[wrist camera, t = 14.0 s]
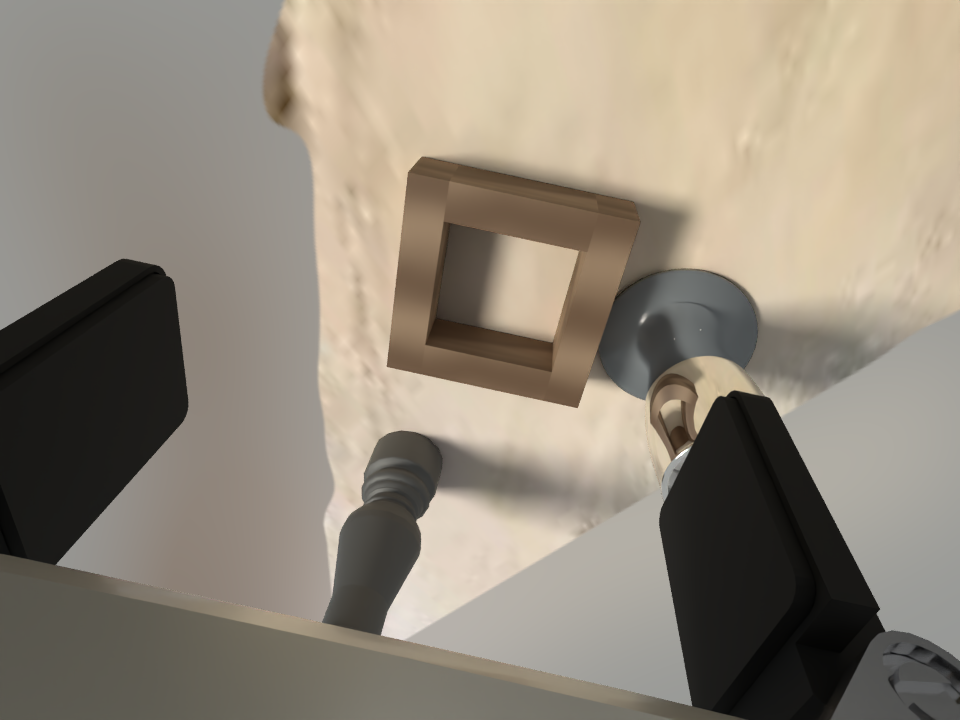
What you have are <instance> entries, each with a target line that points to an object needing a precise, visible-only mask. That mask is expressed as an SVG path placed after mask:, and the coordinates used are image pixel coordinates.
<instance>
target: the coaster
mask: <svg viewBox="0 0 960 720" xmlns="http://www.w3.org/2000/svg"><path fill="white" fill-rule="evenodd" d="M682 302H687V303H694V304H698V305H701V306H703V307H705V308H707V309H709V310H710V311H711V312H713V313H714V314H715V315H716V316H717V317H718V319H719V320H720V322H721V324H722V327H723V330H724V335H725V346H726V350H727V351H728V353H729V354H730V355H731V357H732V358H733V359H734V360H735V361H736V362H737V363H738V364H739V365H740V366H741V367H742V368H743V369H744V368H745V367H746V365H747V364H748V362H749V360H750V359H751V357H752V354H753V352H754V349H755V346H756V342H757V334H758V328H757V320H756V316H755V313H754V310H753V308H752V306H751V304H750V302H749V301H748V299H747V298H746V296H745V295H744V294H743V292H742V291H741V290H740V289H739V288H738V287H737V286H735V285H734V284H733V283H732V282H730V281H728V280H727V279H725V278H723V277H721V276H719V275H716V274H714V273H711V272H707V271H703V270H696V269H674V270H668V271H663V272H659V273H656V274H653V275H650V276H648V277H645V278H643V279H641V280H639V281H638V282H636V283H634V284H633V285H631V286H630V287H628V288H627V289H626V290H625V291H623V292H622V293H621V294H620V295H619V296H618V297H617V298H616V299H615V300H614V302H613V305H612V308H611V311H610V314H609V317H608V320H607V323H606V326H605V329H604V332H603V335H602V338H601V341H600V343H599V354H600V358H601V361H602V364H603V367H604V369H605V370H606V372H607V374H608V375H609V377H610V378H611V379H612V380H613V381H614V382H615V383H616V384H617V385H618V386H619V387H620V388H621V389H623V390H624V391H625V392H627V393H629V394H631V395H633V396H635V397H637V398H640V399H642V400H646V392H647V381H648V375H647V371H646V370H645V368H644V366H643V365H642V363H641V361H640V359H639V357H638V355H637V352H636V346H635V341H636V335H637V332H638V329H639V327H640V326H641V324H642V323H643V321H644V320H645V319H646V318H647V317H648V316H649V315H650V314H651V313H653V312H654V311H656V310H657V309H659V308H661V307H663V306H666V305H669V304H673V303H682Z"/></svg>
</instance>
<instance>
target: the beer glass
mask: <svg viewBox="0 0 960 720" xmlns="http://www.w3.org/2000/svg"><path fill="white" fill-rule="evenodd" d="M635 346H636V352H637V355H638V357H639V359H640V361H641V363H642V365H643V366H644V368H645V370H646V371H647V375H648V381H647V392H646V403H645V429H646V436H647V443H648V448H649V452H650V456H651V460H652V464H653V467H654V470H655V473H656V476H657V479H658V482H659V485H660V488H661V494H662V498H663V500H664V501H665V499H666V497H667V495H668V493H669V491H670V489H671V487H672V485H673V483H674V481H675V479H676V477H677V475H678V473H679V471H680V469H681V467H682V465H683V463H684V461H685V459H686V457H687V455H688V453H689V451H690V449H691V447H692V445H693V443H694V441H695V439H696V437H697V435H698V433H699V431H700V429H701V427H702V425H703V422H704V420H705V418H706V416H707V414H708V412H709V410H710V408H711V406H712V404H713V402H714V401H715V399H716V398H717V397H719V396H724V397H726V396H727V395H728V394H729V393H730V392H731V391H733V390H737V391H741V392H746V393H751V394H755V395H760V396H765V395H764V394H763V392H762V391H761V390H760V388H759V387H758V386H757V385H756V383H755V382H754V381H753V379H752V378H751V377H750V376H749V375H748V374H747V373H746V372H745V370H744V369H743V368H742V367H741V366H740V365H739V364H738V363H737V362H736V361H735V360H734V359H733V358H732V357H731V355H730V354H729V353H728V351H727V350H726V346H725V335H724V330H723V327H722V324H721V322H720V320H719V319H718V317H717V316H716V315H715V314H714V313H713V312H711V311H710V310H709V309H707V308H705V307H703V306H701V305H698V304H694V303H687V302H682V303H673V304H669V305H666V306H663V307H661V308H659V309H657V310H656V311H654V312H653V313H651V314H650V315H649V316H648V317H647V318H646V319H645V320H644V321H643V323H642V324H641V326H640V327H639V329H638V332H637V335H636V341H635Z"/></svg>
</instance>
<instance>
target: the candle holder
mask: <svg viewBox="0 0 960 720" xmlns="http://www.w3.org/2000/svg"><path fill="white" fill-rule="evenodd" d="M441 469H442V456H441V454H440V452H439V449H438V447H436V446H435V445H434V444H433V443H432V442H431V441H430V440H429V439H428V438H426V437H424V436H422V435H419V434H417V433H414V432H407V431H398V432H393V433H389V434H387V435H386V436H384V437H382V438H381V439H379V441H378V443H377V445H376V447H375V448H374V451H373V453H372V456H371V458H370V460H369V463H368V465H367V468H366V470H365V473H364V484H363V485H362V500H363V501H364V505H363V506H362V507H360V508H358V509H357V510H355V511H354V512H352V513H351V514H350V516H349V517H348V518H347V520H346V522H345V523H344V525H343V527H342V529H341V532H340V536H339V545H338V554H337V562H336V571H335V579H334V587H333V595H332V598H331V600H330V603H329V606H328V609H327V611H326V613H325V616H324V619H323V621H322V623H326V624H330V625H335V626H339V627H344V628H349V629H353V630H358V631H362V632H367V633H371V634H376V635H380V636H381V632H382V629H383V625H384V622H385V618H386V615H387V611H388V609H389V608H390V606H391V604H392V602H393V600H394V599H395V597H396V595H397V593H398V592H399V590H400V588H401V586H402V585H403V583H404V581H405V579H406V578H407V576H408V574H409V572H410V571H411V569H412V567H413V565H414V564H415V562H416V560H417V559H418V557H419V554H420V550H421V533H420V530H419V527H418V525H417V523H416V520H417V519H418V518H420V517H422V516H423V515H424V513H425V512H426V510H427V509H428V507H429V503H430V501H431V500H432V498H433V497H434V495H435V493H436V489H437V485H438V481H439V477H440V473H441Z"/></svg>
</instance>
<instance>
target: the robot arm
mask: <svg viewBox="0 0 960 720" xmlns="http://www.w3.org/2000/svg"><path fill="white" fill-rule="evenodd" d="M187 411H188V395H187V386H186V378H185V369H184V361H183V352H182V344H181V335H180V326H179V318H178V310H177V301H176V292H175V286H174V282H173V280H172V279H171V278H170V277H168V276H166V274H165V272H164V270H163V269H162V268H161V267H160V266H157V265H152V264H148V263H143V262H138V261H134V260H129V259H121V260H118V261H116V262H114V263H113V264H111V265H109V266H108V267H106V268H104V269H103V270H101V271H99V272H98V273H96V274H94V275H93V276H91V277H89V278H88V279H86V280H85V281H83V282H81V283H79V284H78V285H76V286H74V287H72V288H71V289H69V290H67V291H66V292H64V293H62V294H61V295H59V296H57V297H56V298H54V299H52V300H51V301H49V302H47V303H46V304H44V305H42V306H40V307H39V308H37V309H36V310H34V311H32V312H30V313H29V314H27V315H25V316H24V317H22V318H20V319H19V320H17V321H15V322H14V323H12V324H10V325H8V326H7V327H5V328H3V329H2V330H0V720H960V661H959V660H958V659H956V658H955V657H954V656H953V655H951V654H950V653H949V652H947V651H945V650H944V649H942V648H940V647H939V646H937V645H935V644H934V643H932V642H930V641H928V640H925V639H923V638H921V637H918V636H916V635H913V634H911V633H906V632H899V631H888V632H885V630H884V628H883V626H882V624H881V622H880V620H879V618H878V616H877V614H876V613H877V612H878V611H879V610H880V608H879V606H878V604H877V602H876V600H875V598H874V597H873V595H872V593H871V591H870V589H869V587H868V585H867V583H866V581H865V579H864V577H863V575H862V573H861V571H860V570H859V568H858V566H857V564H856V562H855V560H854V558H853V556H852V554H851V552H850V550H849V548H848V546H847V545H846V543H845V541H844V539H843V537H842V535H841V533H840V531H839V529H838V527H837V525H836V523H835V521H834V520H833V517H832V516H831V514H830V512H829V510H828V508H827V506H826V504H825V502H824V500H823V498H822V496H821V494H820V492H819V491H818V488H817V487H816V485H815V483H814V481H813V479H812V477H811V475H810V473H809V471H808V469H807V467H806V465H805V463H804V462H803V460H802V458H801V456H800V454H799V452H798V450H797V448H796V446H795V444H794V442H793V440H792V439H791V436H790V435H789V433H788V431H787V429H786V427H785V425H784V423H783V421H782V419H781V417H780V415H779V413H778V411H777V409H776V408H775V406H774V404H773V402H772V400H771V399H770V398H768V397H765V396H760V395H755V394H751V393H746V392H741V391H737V390H733V391H731V392H730V393H729V394H728V395H727V396H726V397H724V396H719V397H717V398H716V399H715V401H714V402H713V404H712V406H711V408H710V410H709V412H708V414H707V416H706V418H705V420H704V422H703V425H702V427H701V429H700V431H699V433H698V435H697V437H696V439H695V441H694V443H693V445H692V447H691V449H690V451H689V453H688V455H687V457H686V459H685V461H684V463H683V465H682V467H681V469H680V471H679V473H678V475H677V477H676V479H675V481H674V483H673V485H672V487H671V489H670V491H669V493H668V495H667V497H666V499H665V501H664V504H663V506H662V508H661V512H660V518H659V526H660V532H661V538H662V543H663V548H664V554H665V560H666V565H667V570H668V576H669V581H670V587H671V592H672V597H673V603H674V608H675V614H676V619H677V624H678V630H679V636H680V641H681V647H682V652H683V657H684V663H685V669H686V674H687V679H688V684H689V690H690V696H691V701H692V706H688V705H684V704H680V703H676V702H672V701H668V700H664V699H659V698H655V697H651V696H647V695H643V694H639V693H635V692H631V691H626V690H622V689H617V688H613V687H609V686H604V685H599V684H595V683H591V682H586V681H582V680H577V679H573V678H568V677H563V676H559V675H555V674H551V673H546V672H542V671H537V670H533V669H528V668H524V667H520V666H515V665H511V664H506V663H501V662H497V661H493V660H488V659H484V658H479V657H475V656H471V655H466V654H462V653H457V652H453V651H448V650H444V649H439V648H435V647H430V646H426V645H421V644H417V643H412V642H407V641H403V640H399V639H394V638H389V637H385V636H380V635H376V634H371V633H367V632H362V631H358V630H353V629H349V628H344V627H339V626H335V625H330V624H326V623H321V622H317V621H312V620H307V619H302V618H298V617H294V616H289V615H285V614H280V613H275V612H271V611H266V610H262V609H257V608H252V607H248V606H243V605H239V604H234V603H229V602H225V601H220V600H216V599H211V598H206V597H202V596H197V595H193V594H188V593H183V592H179V591H174V590H169V589H165V588H160V587H155V586H150V585H146V584H141V583H136V582H132V581H127V580H122V579H117V578H113V577H108V576H103V575H99V574H94V573H90V572H85V571H80V570H75V569H71V568H66V567H61V566H57V565H56V564H57V562H58V561H59V560H60V559H61V558H62V557H63V556H64V555H65V554H66V552H67V551H68V550H69V549H70V548H71V547H72V546H73V545H74V543H75V542H76V541H77V540H78V539H79V538H80V537H81V536H82V534H83V533H84V532H85V531H86V530H87V529H88V528H89V527H90V526H91V524H92V523H93V522H94V521H95V520H96V519H97V518H98V517H99V515H100V514H101V513H102V512H103V511H104V510H105V509H106V508H107V506H108V505H109V504H110V503H111V502H112V501H113V500H114V499H115V497H116V496H117V495H118V494H119V493H120V492H121V491H122V490H123V489H124V487H125V486H126V485H127V484H128V483H129V482H130V481H131V480H132V478H133V477H134V476H135V475H136V474H137V473H138V472H139V470H140V469H141V468H142V467H143V466H144V465H145V464H146V463H147V462H148V460H149V459H150V458H151V457H152V456H153V455H154V454H155V453H156V451H157V450H158V449H159V448H160V447H161V446H162V445H163V443H164V442H165V441H166V440H167V439H168V438H169V437H170V436H171V435H172V433H173V432H174V431H175V430H176V429H177V428H178V427H179V426H180V425H181V423H182V422H183V421H184V418H185V417H186V414H187Z"/></svg>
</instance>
